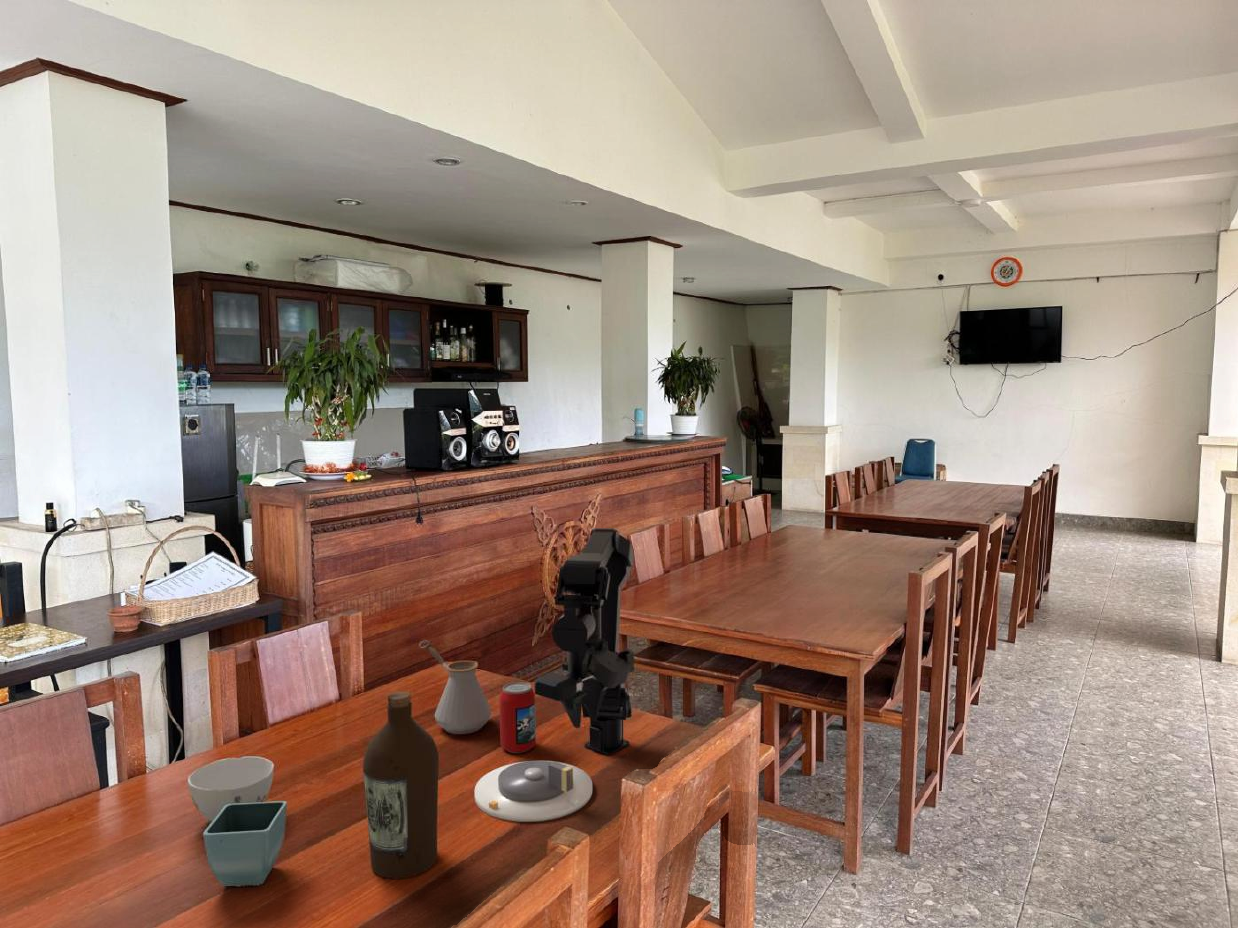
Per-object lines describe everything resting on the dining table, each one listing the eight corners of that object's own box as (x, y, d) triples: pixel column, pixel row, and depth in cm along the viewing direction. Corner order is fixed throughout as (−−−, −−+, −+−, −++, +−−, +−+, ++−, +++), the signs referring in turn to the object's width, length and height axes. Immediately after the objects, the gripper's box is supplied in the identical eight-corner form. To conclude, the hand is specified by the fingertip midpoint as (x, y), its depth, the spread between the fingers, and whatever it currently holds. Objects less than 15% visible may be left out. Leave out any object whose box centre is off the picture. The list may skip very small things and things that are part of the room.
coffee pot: (503, 727, 172) (501, 655, 171) (454, 743, 165) (452, 668, 163) (447, 699, 188) (446, 633, 187) (400, 713, 180) (398, 644, 179)
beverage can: (529, 756, 158) (528, 694, 157) (495, 753, 160) (494, 691, 159) (540, 741, 165) (539, 681, 164) (507, 739, 166) (506, 679, 165)
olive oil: (396, 836, 130) (391, 678, 128) (455, 849, 127) (451, 687, 124) (350, 873, 121) (344, 703, 118) (413, 888, 117) (408, 713, 115)
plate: (533, 756, 159) (533, 746, 158) (616, 786, 146) (616, 776, 146) (449, 796, 143) (449, 786, 143) (534, 834, 131) (534, 823, 130)
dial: (483, 787, 144) (482, 758, 143) (533, 762, 153) (532, 735, 152) (544, 813, 135) (544, 782, 134) (593, 785, 144) (593, 756, 143)
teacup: (286, 821, 135) (284, 772, 135) (201, 848, 127) (198, 797, 127) (258, 787, 147) (255, 742, 146) (178, 810, 139) (176, 763, 138)
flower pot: (228, 861, 124) (225, 802, 123) (290, 858, 125) (288, 799, 124) (204, 897, 115) (201, 834, 114) (271, 893, 116) (268, 830, 115)
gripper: (583, 656, 130) (584, 755, 131) (655, 629, 144) (656, 718, 146) (531, 643, 137) (533, 736, 138) (605, 618, 151) (606, 703, 152)
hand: (585, 723), depth 143 cm, fingers open, 4 cm apart
